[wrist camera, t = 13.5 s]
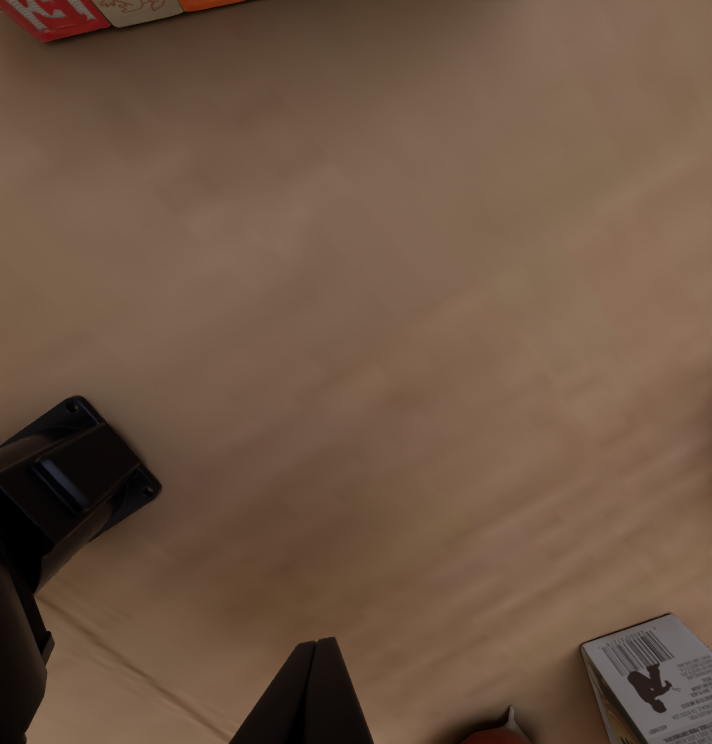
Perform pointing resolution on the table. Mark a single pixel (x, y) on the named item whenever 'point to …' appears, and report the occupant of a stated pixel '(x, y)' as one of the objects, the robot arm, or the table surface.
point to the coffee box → (653, 683)
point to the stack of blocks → (93, 14)
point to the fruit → (500, 734)
